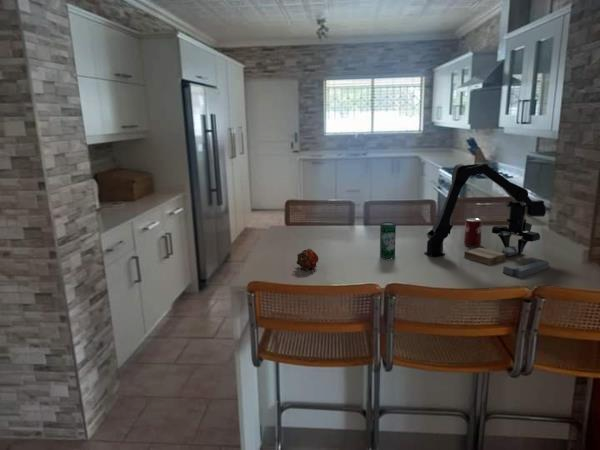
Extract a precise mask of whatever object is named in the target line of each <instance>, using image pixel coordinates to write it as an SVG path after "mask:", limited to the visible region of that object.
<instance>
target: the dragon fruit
mask: <svg viewBox="0 0 600 450" xmlns="http://www.w3.org/2000/svg"><path fill="white" fill-rule="evenodd" d="M296 256H297V261H296V265H299V267H301V268H303V269H304V270H306V269H308V270H310V269H311V268H312V269H315V268H316V267H317V263H318V262H319V256H318V255H317V253H316V252H315V251H314V250H313V249H310V248H307V249H304V250H302V251H301V252H300V253H299V252H298V253H297V255H296Z"/></svg>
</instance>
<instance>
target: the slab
mask: <svg viewBox="0 0 600 450" xmlns="http://www.w3.org/2000/svg"><path fill="white" fill-rule="evenodd" d="M463 255H464V256H463V257H464V258H466V259H469V260H473V261H476V262H479V263H482V264H486V265H492V264H495V263H499V262H502V261H505V258H506V256H505V254H503V253H502V252H499V251H495V250H492V249H488V248H483V247H476V248H472V249H469V250H465V251H464V254H463Z"/></svg>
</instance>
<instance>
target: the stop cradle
mask: <svg viewBox="0 0 600 450" xmlns="http://www.w3.org/2000/svg"><path fill="white" fill-rule="evenodd" d="M527 260H528V263H527V264H525V265H521V266H519V267H514V266H510V265H504V266H503V267H502V268H503V269H502V272H503V273H504V274H507V275H510V276H513V277H516V278H521V279H522V278H524V277H526V275H527V276H529V274H530V275H532V274H531V273H533V274H535V273H534V272H536V273H538V272H537V271H539V272H541V271H544V270H547V269H549V264H550V262H549V261H547V260H543V259H539V258H536V257H535V258H534V257H529V258H528V259H527ZM546 268H547V269H546ZM543 269H544V270H543ZM540 270H541V271H540Z"/></svg>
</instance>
